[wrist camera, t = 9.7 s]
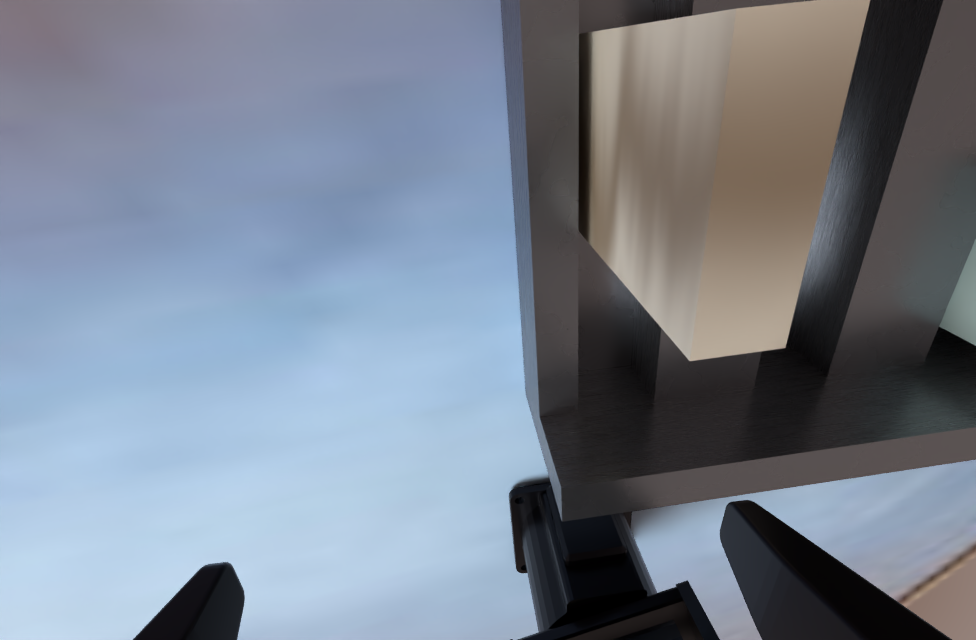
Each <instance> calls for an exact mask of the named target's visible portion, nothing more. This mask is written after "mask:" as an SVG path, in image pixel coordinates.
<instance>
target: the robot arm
mask: <svg viewBox="0 0 976 640" xmlns="http://www.w3.org/2000/svg"><path fill="white" fill-rule="evenodd" d="M518 497H520V498H518ZM509 503H510V513H511V523H512V534H513V544H514V554H515V564H516V569H517V571H518V572H520V573H528V578H529V583H530V588H531V594H532V599H533V604H534V609H535V615H536V620H537V625H538V631H539V633H536V634H533V635H530V636H527V637H524V638H521V639H518V640H720V639H719V638H718V636H717V634H716V632H715V630H714V628H713V626H712V625H711V623H710V621H709V619H708V617H707V615H706V613H705V612H704V610H703V608H702V606H701V604H700V602H699V601H698V599H697V597H696V595H695V593H694V591H693V589H692V588H691V586H690V584H689V582H688V581H684V582H681V583H678V584H676V587H674V588H671V589H668V590H665V591H662V592H659V593H657V591H656V589H655V587H654V584H653V582H652V579H651V577H650V575H649V572H648V570H647V568H646V565H645V563H644V561H643V558H642V556H641V554H640V551H639V549H638V546H637V544H636V542H635V539H634V537H633V535H632V532H631V530H630V526H631V513H632V511H630V512H624V513H617V514H610V515H604V516H597V517H590V518H584V519H577V520H571V521H564V522H562V520H561V517H560V513H559V510H558V506H557V503H556V499H555V496H554V492H553V489H552V485H551V483H547V484H540V485H533V486H527V487H520V488H515V489H513V490H512V491H511V492H510V493H509ZM720 539H721V543H722V546H723V548H724V551H725V553H726V556H727V558H728V561H729V563H730V565H731V568H732V570H733V573H734V575H735V577H736V580H737V582H738V585H739V587H740V590H741V592H742V594H743V597H744V599H745V602H746V604H747V606H748V609H749V611H750V614H751V616H752V618H753V621H754V623H755V625H756V627H757V630H758V632H759V634H760V636H761V638H762V640H952V639H950V638H949V637H947V636H946V635H944V634H943V633H942V632H940V631H938V630H937V629H936V628H935V627H933V626H932V625H930V624H929V623H927V622H926V621H924V620H923V619H921V618H920V617H919V616H917V615H916V614H914V613H913V612H911V611H910V610H909V609H907V608H906V607H904V606H903V605H901V604H900V603H899V602H897V601H896V600H894V599H893V598H891V597H890V596H889V595H887V594H886V593H884V592H883V591H881V590H880V589H878V588H877V587H876V586H874V585H873V584H871V583H870V582H868V581H867V580H866V579H864V578H863V577H861V576H860V575H858V574H857V573H856V572H854V571H853V570H851V569H850V568H848V567H847V566H845V565H844V564H843V563H841V562H840V561H838V560H837V559H835V558H834V557H833V556H831V555H830V554H828V553H827V552H825V551H824V550H822V549H821V548H820V547H818V546H817V545H815V544H814V543H812V542H811V541H810V540H808V539H807V538H805V537H804V536H802V535H801V534H799V533H798V532H797V531H795V530H794V529H792V528H791V527H789V526H788V525H787V524H785V523H784V522H782V521H781V520H779V519H778V518H776V517H775V516H774V515H772V514H771V513H769V512H768V511H766V510H765V509H764V508H762V507H761V506H759V505H758V504H756V503H755V502H752V501H749V500H744V501H735V502H730V503H729V504H728V505H727V506H726V510H725V513H724V517H723V521H722V525H721V529H720ZM244 599H245V597H244V590H243V587H242V585H241V583H240V581H239V579H238V577H237V575H236V572H235V570H234V568H233V566H232V565H231V564H230V563H228V562H223V563H215V564H208V565H205V566H203V567H202V568H201V569H200V570H199V571H198V572H197V573H196V574H195V575H194V576H193V577H192V578H191V579H190V580H189V581H188V582H187V583H186V584H185V585H184V586H183V587H182V588H181V589H180V591H179V592H178V593H177V594H176V595H175V596H174V597H173V598H172V599H171V600H170V601H169V602H168V603H167V604H166V605H165V606H164V607H163V608H162V610H161V611H160V612H159V613H158V614H157V615H156V616H155V617H154V618H153V619H152V620H151V621H150V622H149V623H148V624H147V625H146V626H145V627H144V628H143V630H142V631H141V632H140V633H139V634H138V635H137V636H136V637H135V638H134V639H133V640H237V637H238V632H239V627H240V622H241V617H242V612H243V607H244ZM510 640H512V639H510Z"/></svg>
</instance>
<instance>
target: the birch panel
mask: <svg viewBox="0 0 976 640" xmlns="http://www.w3.org/2000/svg"><path fill="white" fill-rule="evenodd" d="M869 3H870V0H814V1H804V2H794V3H785V4H775V5H766V6H756V7H746V8H737V9H730V10H724V11H718V12H712V13H706V14H699V15H693V16H687V17H681V18H674V19H668V20H662V21H656V22H650V23H643V24H637V25H631V26H625V27H619V28H612V29H606V30H600V31H594V32H587V33H581V34H579V190H578V231H579V232H580V233H581V235H582V236H583V237H584V238H585V239H586V240H587V242H588V243H589V244H590V245H591V246H592V247H593V249H594V250H595V251H596V252H597V253H598V254H599V256H600V257H601V258H602V259H603V260H604V261H605V263H606V264H607V265H608V266H609V267H610V268H611V270H612V271H613V272H614V273H615V274H616V275H617V277H618V278H619V279H620V280H621V281H622V283H623V284H624V285H625V286H626V287H627V288H628V290H629V291H630V292H631V293H632V294H633V295H634V297H635V298H636V299H637V300H638V301H639V302H640V304H641V305H642V306H643V307H644V308H645V309H646V311H647V312H648V313H649V314H650V315H651V316H652V318H653V319H654V320H655V321H656V322H657V323H658V325H659V326H660V327H661V328H662V329H663V330H664V332H665V333H666V334H667V335H668V336H669V338H670V339H671V340H672V341H673V342H674V343H675V345H676V346H677V347H678V348H679V349H680V350H681V352H682V353H683V354H684V355H685V356H686V357H687V359H688V360H689V361H695V360H702V359H710V358H717V357H724V356H731V355H738V354H746V353H753V352H760V351H767V350H774V349H782V348H786V344H787V339H788V335H789V331H790V327H791V323H792V319H793V315H794V311H795V307H796V303H797V298H798V294H799V290H800V286H801V282H802V278H803V274H804V270H805V266H806V262H807V257H808V253H809V249H810V245H811V241H812V237H813V233H814V229H815V225H816V221H817V216H818V212H819V208H820V204H821V200H822V196H823V192H824V188H825V184H826V180H827V175H828V171H829V167H830V163H831V159H832V155H833V151H834V147H835V143H836V139H837V134H838V130H839V126H840V122H841V118H842V114H843V110H844V106H845V102H846V98H847V93H848V89H849V85H850V81H851V77H852V73H853V69H854V65H855V61H856V57H857V52H858V48H859V44H860V40H861V36H862V32H863V28H864V24H865V20H866V16H867V11H868V7H869Z"/></svg>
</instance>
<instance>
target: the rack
mask: <svg viewBox="0 0 976 640" xmlns="http://www.w3.org/2000/svg"><path fill="white" fill-rule="evenodd" d="M804 1H814V0H501V12H502V28H503V43H504V59H505V75H506V91H507V106H508V122H509V138H510V153H511V169H512V185H513V201H514V216H515V232H516V248H517V263H518V279H519V295H520V311H521V326H522V342H523V358H524V373H525V389H526V397H527V400H528V404H529V407H530V411H531V414H532V418H533V421H534V425H535V429H536V432H537V436H538V439H539V443H540V446H541V450H542V453H543V457H544V460H545V464H546V467H547V471H548V474H549V478H550V481H551V485H552V489H553V492H554V496H555V499H556V503H557V506H558V510H559V513H560V517H561V520H562V522H564V521H571V520H577V519H584V518H590V517H597V516H604V515H610V514H617V513H624V512H630V511H637V510H644V509H650V508H657V507H663V506H670V505H677V504H683V503H690V502H697V501H703V500H710V499H717V498H723V497H730V496H737V495H743V494H750V493H756V492H763V491H770V490H776V489H783V488H790V487H796V486H803V485H810V484H816V483H823V482H829V481H836V480H843V479H849V478H856V477H863V476H869V475H876V474H883V473H889V472H896V471H902V470H909V469H916V468H922V467H929V466H936V465H942V464H949V463H956V462H962V461H969V460H975V459H976V346H975V345H973V344H971V343H970V342H968V341H966V340H964V339H962V338H960V337H958V336H956V335H954V334H952V333H951V332H949V331H947V330H945V329H943V328H941V327H939V325H940V323H941V321H942V318H943V316H944V313H945V311H946V309H947V306H948V304H949V301H950V299H951V297H952V294H953V292H954V290H955V287H956V285H957V282H958V280H959V278H960V275H961V273H962V270H963V268H964V266H965V263H966V261H967V259H968V256H969V254H970V251H971V249H972V247H973V244H974V242H975V239H976V0H870V3H869V7H868V11H867V16H866V20H865V24H864V28H863V32H862V36H861V40H860V44H859V48H858V52H857V57H856V61H855V65H854V69H853V73H852V77H851V81H850V85H849V89H848V93H847V98H846V102H845V106H844V110H843V114H842V118H841V122H840V126H839V130H838V134H837V139H836V143H835V147H834V151H833V155H832V159H831V163H830V167H829V171H828V175H827V180H826V184H825V188H824V192H823V196H822V200H821V204H820V208H819V212H818V216H817V221H816V225H815V229H814V233H813V237H812V241H811V245H810V249H809V253H808V257H807V262H806V266H805V270H804V274H803V278H802V282H801V286H800V290H799V294H798V298H797V303H796V307H795V311H794V315H793V319H792V323H791V327H790V331H789V335H788V339H787V344H786V348H782V349H774V350H767V351H760V352H753V353H746V354H738V355H731V356H724V357H717V358H710V359H702V360H695V361H689V360H688V359H687V357H686V356H685V355H684V354H683V353H682V352H681V350H680V349H679V348H678V347H677V346H676V345H675V343H674V342H673V341H672V340H671V339H670V338H669V336H668V335H667V334H666V333H665V332H664V330H663V329H662V328H661V327H660V326H659V325H658V323H657V322H656V321H655V320H654V319H653V318H652V316H651V315H650V314H649V313H648V312H647V311H646V309H645V308H644V307H643V306H642V305H641V304H640V302H639V301H638V300H637V299H636V298H635V297H634V295H633V294H632V293H631V292H630V291H629V290H628V288H627V287H626V286H625V285H624V284H623V283H622V281H621V280H620V279H619V278H618V277H617V275H616V274H615V273H614V272H613V271H612V270H611V268H610V267H609V266H608V265H607V264H606V263H605V261H604V260H603V259H602V258H601V257H600V256H599V254H598V253H597V252H596V251H595V250H594V249H593V247H592V246H591V245H590V244H589V243H588V242H587V240H586V239H585V238H584V237H583V236H582V235H581V233H580V232H579V231H578V190H579V34H581V33H587V32H594V31H600V30H606V29H612V28H619V27H625V26H631V25H637V24H643V23H650V22H656V21H662V20H668V19H674V18H681V17H687V16H693V15H699V14H706V13H712V12H718V11H724V10H730V9H737V8H746V7H756V6H766V5H775V4H785V3H794V2H804Z"/></svg>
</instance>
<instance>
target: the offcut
mask: <svg viewBox="0 0 976 640" xmlns="http://www.w3.org/2000/svg"><path fill="white" fill-rule="evenodd" d="M939 327H941V328H943V329H945V330H947V331H949V332H951V333H952V334H954V335H956V336H958V337H960V338H962V339H964V340H966V341H968V342H970V343H971V344H973V345H975V346H976V239H975V242H974V244H973V247H972V249H971V251H970V254H969V256H968V259H967V261H966V263H965V266H964V268H963V270H962V273H961V275H960V278H959V280H958V282H957V285H956V287H955V290H954V292H953V294H952V297H951V299H950V301H949V304H948V306H947V309H946V311H945V313H944V316H943V318H942V321H941V323H940V325H939Z"/></svg>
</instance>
